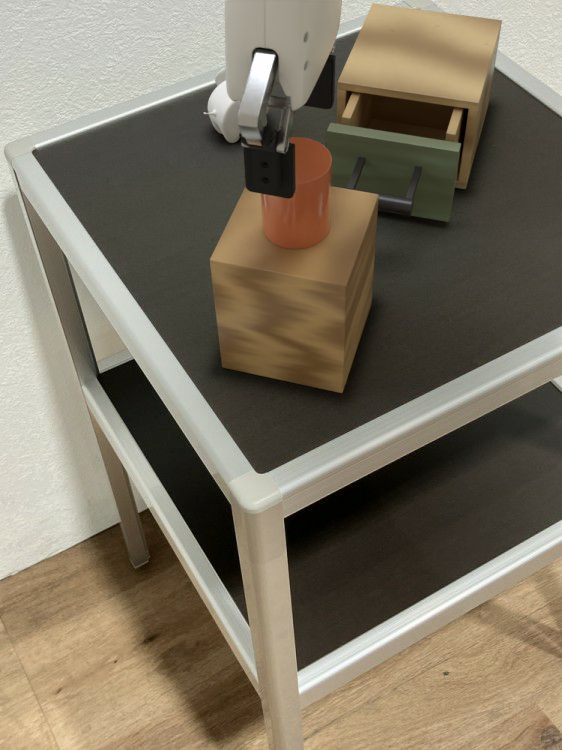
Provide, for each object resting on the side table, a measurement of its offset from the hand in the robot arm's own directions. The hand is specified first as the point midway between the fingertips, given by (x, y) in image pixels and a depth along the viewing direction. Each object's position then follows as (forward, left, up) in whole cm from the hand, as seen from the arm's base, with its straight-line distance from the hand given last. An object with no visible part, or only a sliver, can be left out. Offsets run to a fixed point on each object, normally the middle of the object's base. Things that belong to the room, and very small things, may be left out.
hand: (291, 146), depth 65 cm
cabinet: (-4, -28, -19) cm, 34 cm away
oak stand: (0, 0, -19) cm, 19 cm away
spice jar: (0, 0, -7) cm, 7 cm away
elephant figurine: (+13, -25, -19) cm, 34 cm away
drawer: (-4, -19, -18) cm, 27 cm away
